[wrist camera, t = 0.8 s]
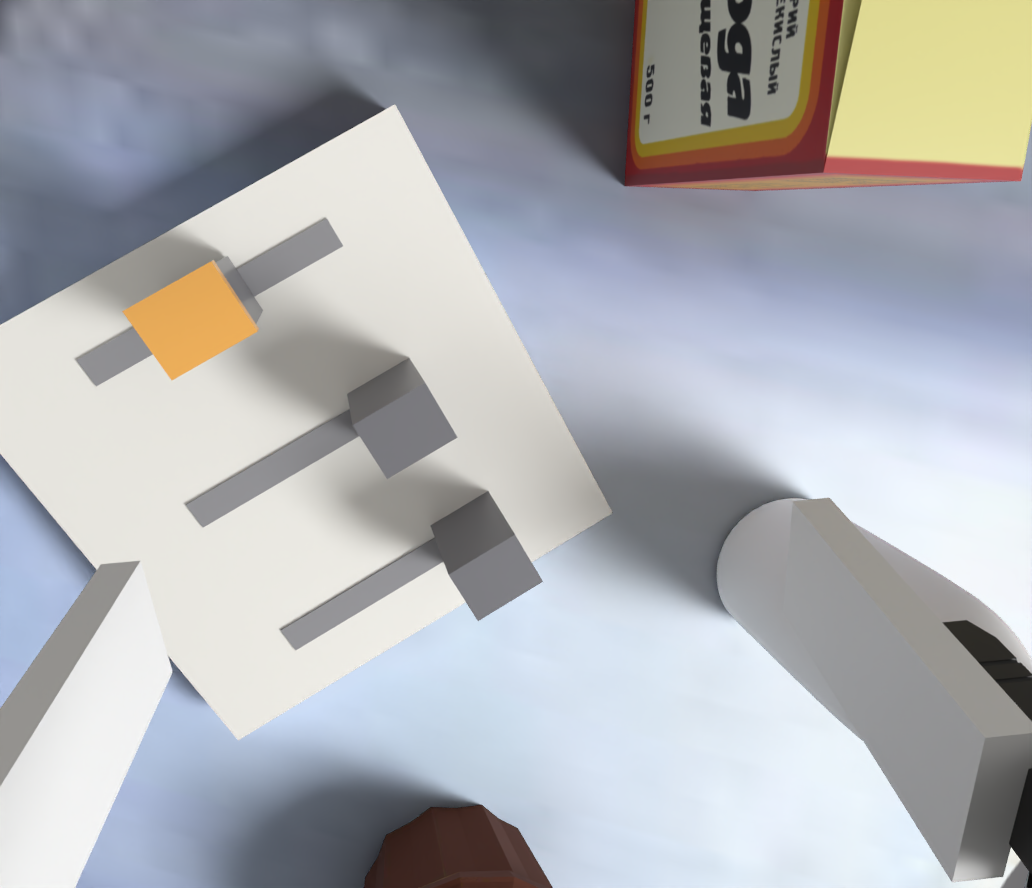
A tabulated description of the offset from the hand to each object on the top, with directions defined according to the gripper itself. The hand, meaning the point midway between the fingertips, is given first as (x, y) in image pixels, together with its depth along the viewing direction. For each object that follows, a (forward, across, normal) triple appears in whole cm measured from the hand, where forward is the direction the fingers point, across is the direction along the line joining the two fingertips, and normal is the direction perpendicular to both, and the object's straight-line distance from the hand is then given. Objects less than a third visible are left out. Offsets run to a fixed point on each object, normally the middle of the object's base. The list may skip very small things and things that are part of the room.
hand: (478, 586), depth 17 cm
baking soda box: (+26, -12, -9) cm, 29 cm away
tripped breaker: (+18, +10, -2) cm, 21 cm away
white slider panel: (+20, +7, +5) cm, 22 cm away
